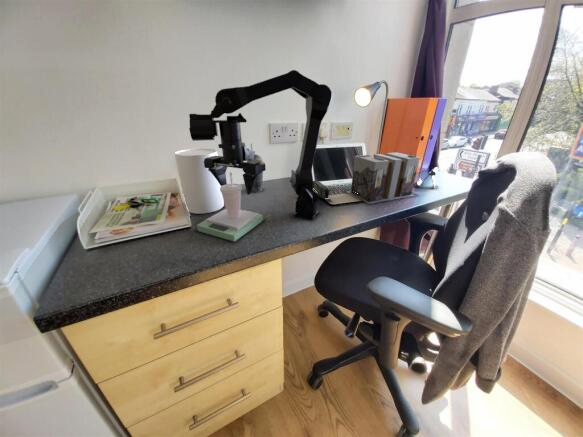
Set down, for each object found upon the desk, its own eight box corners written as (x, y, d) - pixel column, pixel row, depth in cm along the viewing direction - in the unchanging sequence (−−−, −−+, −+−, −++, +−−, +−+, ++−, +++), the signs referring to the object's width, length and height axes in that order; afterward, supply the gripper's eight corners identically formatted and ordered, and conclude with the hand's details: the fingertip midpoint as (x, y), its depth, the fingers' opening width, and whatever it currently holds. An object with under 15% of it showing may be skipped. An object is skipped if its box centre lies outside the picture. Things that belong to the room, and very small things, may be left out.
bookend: (416, 195, 100) (426, 156, 93) (368, 203, 91) (375, 161, 84) (389, 184, 113) (395, 150, 106) (345, 191, 104) (349, 154, 97)
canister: (188, 201, 93) (178, 149, 84) (224, 198, 96) (217, 147, 87) (183, 215, 81) (170, 156, 72) (224, 211, 84) (216, 154, 75)
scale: (263, 220, 78) (263, 212, 77) (234, 241, 66) (233, 233, 64) (229, 212, 83) (229, 205, 82) (197, 230, 71) (195, 222, 70)
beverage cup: (262, 193, 101) (259, 145, 92) (246, 192, 103) (242, 144, 94) (267, 188, 108) (265, 142, 99) (252, 187, 109) (248, 142, 100)
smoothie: (234, 222, 70) (229, 176, 64) (219, 217, 73) (212, 173, 67) (248, 214, 75) (245, 171, 69) (233, 210, 78) (229, 168, 72)
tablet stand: (418, 182, 116) (422, 165, 113) (436, 185, 112) (441, 167, 109) (415, 186, 110) (419, 169, 106) (434, 190, 106) (439, 171, 102)
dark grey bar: (311, 180, 103) (326, 190, 90) (317, 179, 104) (333, 189, 91) (310, 191, 105) (325, 202, 92) (317, 190, 106) (332, 201, 93)
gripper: (274, 138, 69) (275, 188, 76) (224, 135, 77) (229, 181, 84) (252, 143, 60) (256, 200, 67) (198, 139, 68) (207, 190, 75)
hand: (236, 192), depth 73 cm, fingers open, 9 cm apart
